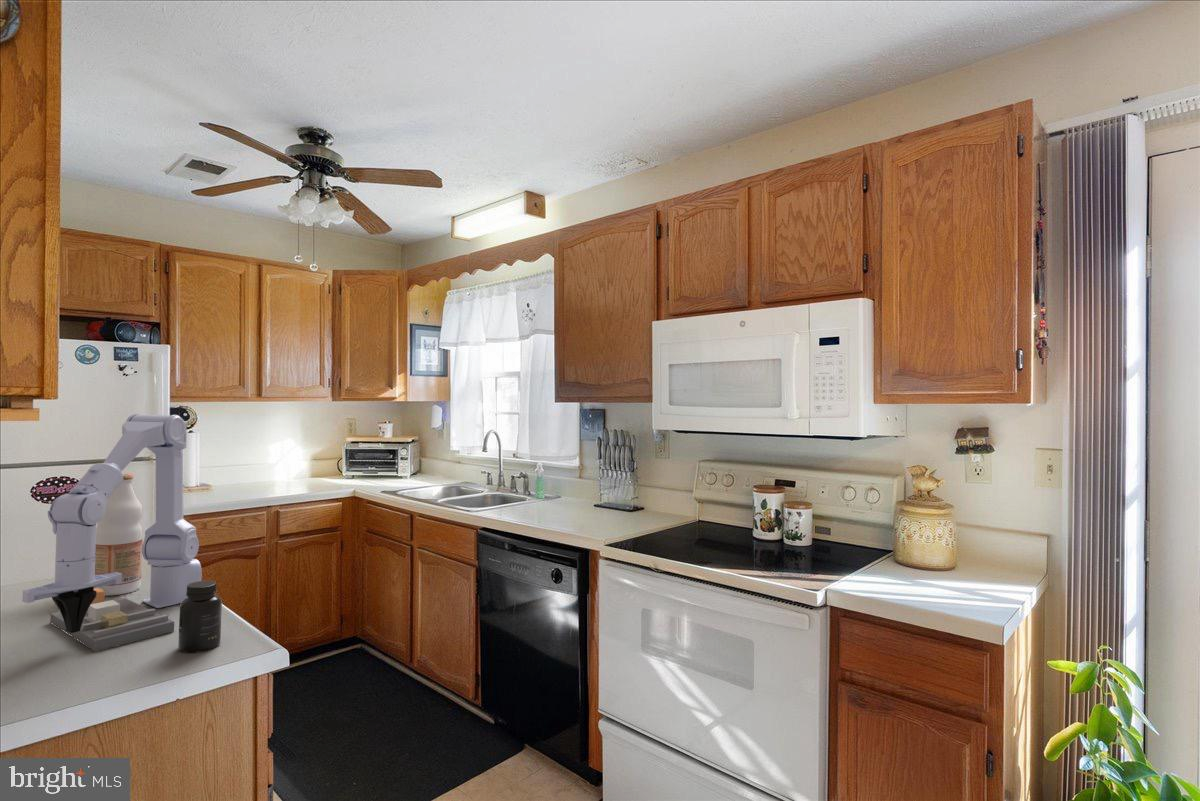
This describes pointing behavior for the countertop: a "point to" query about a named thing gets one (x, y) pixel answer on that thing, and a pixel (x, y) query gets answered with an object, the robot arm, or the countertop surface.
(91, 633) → the grey ridged tray
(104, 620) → the wood grain block
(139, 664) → the countertop surface
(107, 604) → the off-white button
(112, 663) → the countertop surface
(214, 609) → the supplement bottle
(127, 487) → the fruit juice
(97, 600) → the orange button
